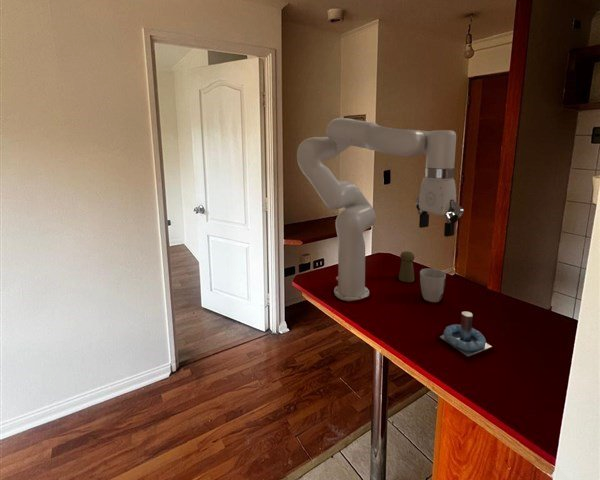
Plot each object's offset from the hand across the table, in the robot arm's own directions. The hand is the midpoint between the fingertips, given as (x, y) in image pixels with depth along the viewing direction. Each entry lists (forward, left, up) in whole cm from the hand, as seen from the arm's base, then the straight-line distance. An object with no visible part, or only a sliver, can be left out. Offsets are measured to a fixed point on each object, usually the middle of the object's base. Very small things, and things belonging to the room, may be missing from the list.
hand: (435, 231), depth 96 cm
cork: (-25, +12, -28) cm, 40 cm away
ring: (+13, -2, -26) cm, 29 cm away
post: (+14, -2, -28) cm, 31 cm away
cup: (-8, +8, -28) cm, 30 cm away
